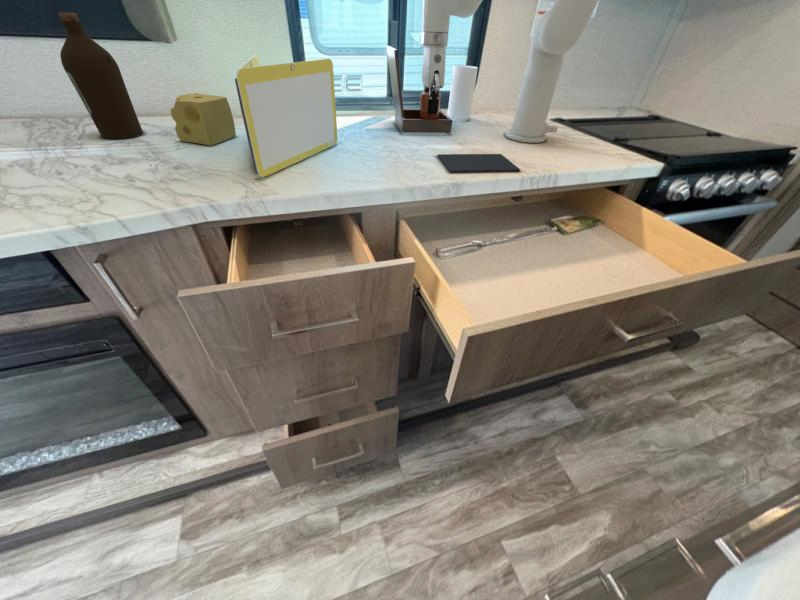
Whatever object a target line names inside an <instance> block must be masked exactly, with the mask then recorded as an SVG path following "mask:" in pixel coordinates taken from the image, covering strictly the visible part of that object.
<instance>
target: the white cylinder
mask: <svg viewBox="0 0 800 600" xmlns="http://www.w3.org/2000/svg"><path fill="white" fill-rule="evenodd" d="M477 75H478V66H474V65H464V64H456V65H455V64H454V65H453V67H452V74H451V81H450V91H449V99H448V106H447V114H446V115H447V116H448V117H449V118H450V119H452V120H459V121H465V120H466V121H467V120H470V118H471V111H472V107H473V106H472V105H473V98H474V94H475V87H476V80H477Z"/></svg>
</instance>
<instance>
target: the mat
mask: <svg viewBox="0 0 800 600" xmlns="http://www.w3.org/2000/svg"><path fill="white" fill-rule="evenodd" d="M437 158H438V159H439V161H440V162H441V163H442V164H443V166H444V167H445V168H446V169H447V170H448V172H449V173H450V174H463V173H464V174H465V173H466V174H467V173H470V174H471V173H520V172H521V168H519V167H518V166H516V164H514V163H513V162H512V161H511V160H509V159H508V158H506V156H504V155H503V154H502V153H450V154H449V153H445V154H443V153H442V154H441V153H437Z"/></svg>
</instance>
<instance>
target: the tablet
mask: <svg viewBox="0 0 800 600" xmlns="http://www.w3.org/2000/svg"><path fill="white" fill-rule="evenodd" d="M334 77H335V75H334V64H333V61H332V59H331V58H322V59H314V60H305V61H295V62H286V63H285V62H284V63H276V64H267V65H261V64H260V58H259V54H258V53H255V54H254V55H252V56H251V57H250V58H249V59H248V60H246V62H244V63H243V64H242V65H241V66H239V67H238V69H237V71H236V77H235V78H234V82H235V87H236V92H237V96H238V101H239V107H240V111H241V116H242V120H243V124H244V130H245V133H246V137H247V143H248V147H249V152H250V155H251V159H252V163H253V167H254V170H255V172H256V175H258V176H259V177H262V178H265V177H267V176H270V175H272V174H274V173H276V172H278V171H281V170H283V169H285V168H288V167H290V166H291V165H294V164H296V163H298V162H300V161H302V160H305V159H307V158H309V157H312V156H313V155H316V154H318V153H321V152H322V151H324V150H326V149H329V148H331V147H334V146H335V145H337V143H338V125H337V108H336V107H337V106H336V95H335V94H336V93H335V92H336V91H335V79H334Z"/></svg>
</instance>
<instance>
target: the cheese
mask: <svg viewBox="0 0 800 600" xmlns="http://www.w3.org/2000/svg"><path fill="white" fill-rule="evenodd" d="M170 116H171V118H172V120H173V121H174V122H175V127H174V130H175V133H176V137H178V140H179V141H180V142H185V143H193V144H200V145H203V146H204V145H205V146H209V147H212V146H216V145H218V144H220V143H223V142H225V141H228V140H230V139H233V138H235V137H237V132H236V126H235V121H234V117H233V113H232V109H231V106H230V103H229V101H228V98H227V97H226V96H221V95H213V94H212V95H211V94H203V93H199V92H194V93H186V94H181V95H179V96H177V97H176V99H175V102H174V106H173V107H170Z"/></svg>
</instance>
